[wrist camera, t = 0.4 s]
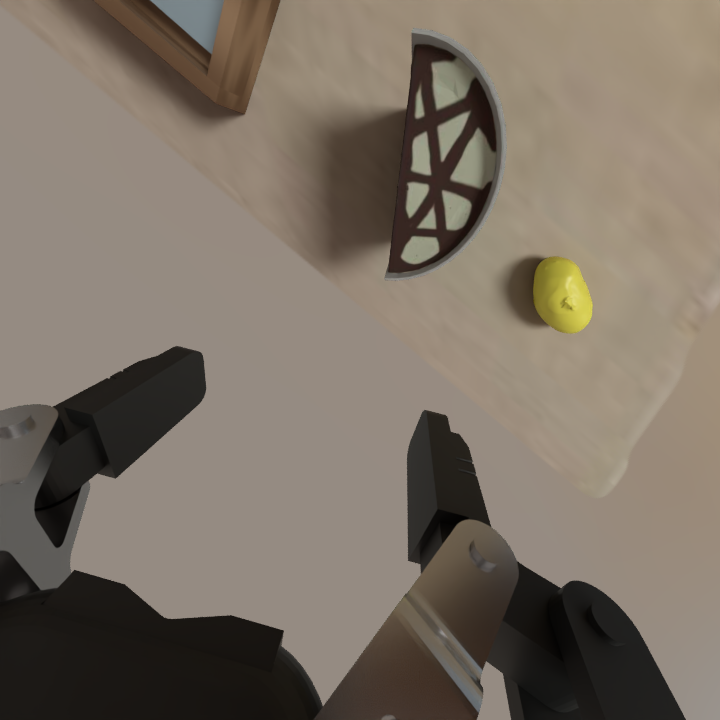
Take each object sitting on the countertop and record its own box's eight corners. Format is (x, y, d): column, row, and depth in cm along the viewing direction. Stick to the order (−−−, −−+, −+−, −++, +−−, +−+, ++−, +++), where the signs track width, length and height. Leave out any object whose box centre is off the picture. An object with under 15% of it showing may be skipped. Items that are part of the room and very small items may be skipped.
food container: (457, 260, 26) (474, 298, 18) (394, 254, 27) (383, 287, 19) (503, 82, 19) (564, 11, 11) (416, 80, 20) (413, 11, 12)
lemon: (569, 241, 24) (593, 250, 21) (585, 316, 27) (607, 334, 24) (518, 264, 25) (532, 276, 22) (538, 332, 29) (553, 351, 26)
